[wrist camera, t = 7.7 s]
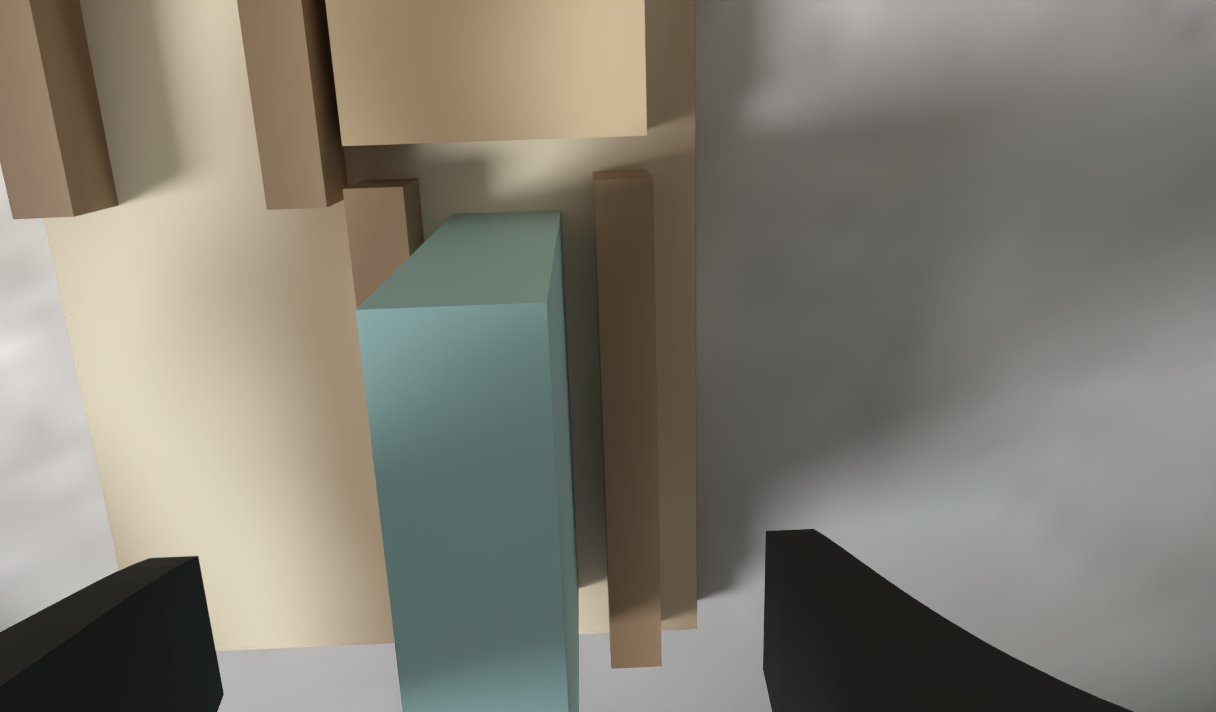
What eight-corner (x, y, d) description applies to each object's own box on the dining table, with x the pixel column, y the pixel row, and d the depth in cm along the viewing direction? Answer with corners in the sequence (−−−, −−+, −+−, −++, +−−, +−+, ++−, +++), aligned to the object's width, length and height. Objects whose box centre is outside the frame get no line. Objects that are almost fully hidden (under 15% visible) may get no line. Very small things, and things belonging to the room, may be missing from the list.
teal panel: (560, 209, 16) (547, 301, 9) (578, 588, 19) (578, 896, 12) (453, 214, 16) (355, 310, 9) (484, 592, 19) (425, 905, 12)
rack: (685, -402, 15) (706, -499, 12) (691, 603, 20) (706, 672, 18) (-50, -386, 14) (-176, -482, 12) (159, 627, 20) (101, 700, 17)
